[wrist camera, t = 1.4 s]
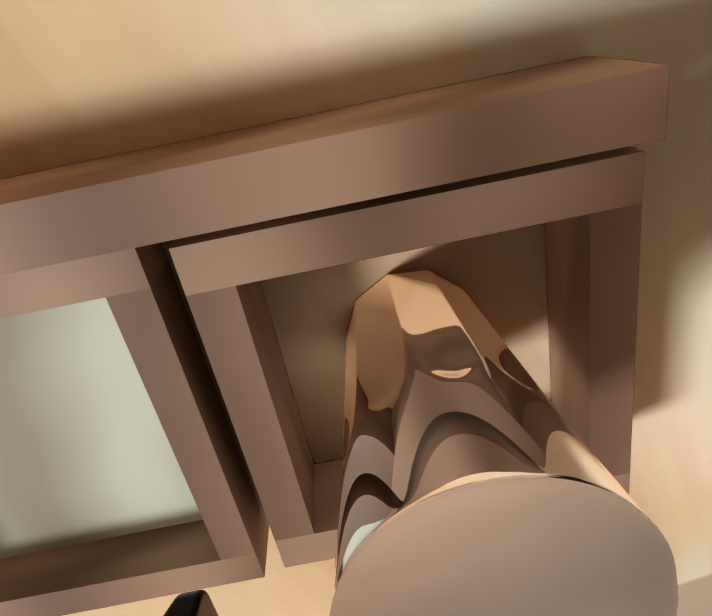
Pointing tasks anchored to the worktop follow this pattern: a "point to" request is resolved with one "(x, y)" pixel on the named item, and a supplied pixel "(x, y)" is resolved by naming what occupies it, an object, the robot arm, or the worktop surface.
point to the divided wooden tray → (253, 322)
